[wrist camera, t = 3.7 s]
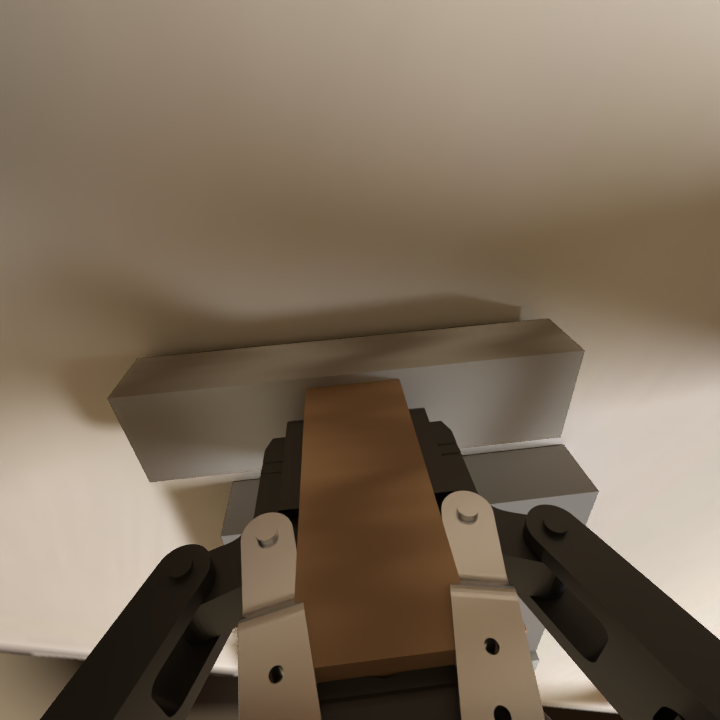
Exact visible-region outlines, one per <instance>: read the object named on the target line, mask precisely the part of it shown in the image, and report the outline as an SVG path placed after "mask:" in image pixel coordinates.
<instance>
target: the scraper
mask: <svg viewBox="0 0 720 720" xmlns="http://www.w3.org/2000/svg"><path fill="white" fill-rule="evenodd" d="M584 351H585V350H584V349H583V348H581V347H580V346H579V345H578V344H577V343H576V342H575V341H573V340H572V339H571V338H570V337H569V336H568V335H567V334H566V333H564V332H563V331H562V330H561V329H560V328H559V327H558V326H557V325H555V324H554V323H553V322H552V321H551V320H550V319H539V320H529V321H519V322H508V323H498V324H488V325H477V326H467V327H457V328H447V329H436V330H426V331H416V332H405V333H395V334H385V335H375V336H364V337H354V338H344V339H333V340H323V341H313V342H303V343H292V344H282V345H272V346H262V347H251V348H241V349H231V350H220V351H210V352H200V353H190V354H179V355H169V356H159V357H148V358H138V359H137V360H136V361H135V363H134V364H133V365H132V367H131V368H130V369H129V370H128V372H127V373H126V374H125V376H124V377H123V378H122V380H121V381H120V382H119V384H118V385H117V386H116V388H115V389H114V390H113V392H112V393H111V394H110V396H109V397H108V398H107V399H108V401H109V403H110V405H111V407H112V409H113V411H114V413H115V415H116V417H117V419H118V420H119V422H120V424H121V426H122V428H123V430H124V432H125V434H126V436H127V438H128V440H129V442H130V444H131V446H132V448H133V450H134V452H135V454H136V456H137V458H138V460H139V462H140V464H141V466H142V468H143V470H144V472H145V474H146V476H147V478H148V480H149V482H157V481H166V480H175V479H184V478H193V477H202V476H211V475H221V474H230V473H239V472H248V471H257V470H262V466H263V458H264V452H265V449H266V448H267V446H268V445H269V443H270V442H271V440H272V439H273V438H282V437H285V436H286V427H287V422H288V421H297V420H304V426H303V445H302V464H301V483H300V501H299V520H298V539H297V558H296V577H295V596H294V603H297V602H300V601H303V602H304V608H305V615H306V621H307V627H308V634H309V640H310V647H311V653H312V659H313V666H314V670H315V674H316V677H317V683H320V682H328V681H335V680H343V679H350V678H358V677H365V676H372V677H377V678H384V679H385V678H390V677H392V676H394V675H396V674H398V673H401V672H403V671H411V670H418V669H426V668H434V667H441V666H449V665H454V661H453V659H454V652H455V645H454V633H453V621H452V609H451V597H450V586H449V582H451V583H461V581H460V578H459V574H458V571H457V568H456V564H455V561H454V558H453V555H452V551H451V548H450V545H449V541H448V538H447V535H446V531H445V528H444V525H443V521H442V518H441V515H440V512H439V508H438V505H437V502H436V498H435V495H434V492H433V488H432V485H431V482H430V478H429V475H428V472H427V469H426V465H425V462H424V459H423V455H422V452H421V449H420V445H419V442H418V439H417V436H416V432H415V429H414V426H413V422H412V419H411V416H410V412H409V409H413V408H423V407H424V408H425V410H426V413H427V416H428V419H429V422H434V421H442V422H443V423H444V424H445V425H446V426H447V427H448V428H450V429H451V430H452V433H453V435H454V437H455V440H456V442H457V445H458V447H459V448H467V447H476V446H485V445H494V444H503V443H512V442H521V441H531V440H540V439H549V438H558V437H561V434H562V430H563V426H564V423H565V419H566V416H567V412H568V408H569V405H570V401H571V398H572V394H573V390H574V387H575V383H576V380H577V376H578V372H579V369H580V365H581V362H582V358H583V354H584Z"/></svg>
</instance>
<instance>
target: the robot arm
mask: <svg viewBox="0 0 720 720" xmlns="http://www.w3.org/2000/svg"><path fill="white" fill-rule="evenodd" d="M409 412H410V416H411V419H412V422H413V426H414V429H415V432H416V436H417V439H418V442H419V445H420V449H421V452H422V455H423V459H424V462H425V465H426V469H427V472H428V475H429V478H430V482H431V485H432V488H433V492H434V495H435V498H436V502H437V505H438V508H439V512H440V515H441V518H442V521H443V525H444V528H445V531H446V535H447V538H448V541H449V545H450V548H451V551H452V555H453V558H454V561H455V564H456V568H457V571H458V574H459V578H460V581H461V583H451V582H449V586H450V597H451V609H452V621H453V633H454V645H455V652H454V659H453V661H454V665H449V666H441V667H434V668H426V669H418V670H411V671H403V672H401V673H398V674H396V675H394V676H392V677H390V678H385V679H384V678H377V677H372V676H365V677H358V678H350V679H343V680H335V681H328V682H320V683H317V677H316V674H315V670H314V666H313V659H312V653H311V647H310V640H309V634H308V627H307V621H306V615H305V608H304V602H303V601H300V602H297V603H294V596H295V577H296V558H297V539H298V520H299V501H300V483H301V464H302V445H303V426H304V420H297V421H288V422H287V427H286V436H285V437H282V438H273V439H272V440H271V442H270V443H269V445H268V446H267V448H266V449H265V452H264V458H263V466H262V470H261V476H260V482H259V488H258V494H257V500H256V506H255V512H254V517H253V520H252V521H251V522H250V523H249V524H248V525H247V526H246V528H245V529H244V531H243V533H242V535H241V536H240V537H238V538H237V539H235V540H234V541H232V542H230V543H228V544H225V545H223V546H221V547H218V548H216V549H214V550H211V551H209V552H208V551H207V550H206V549H205V548H204V547H203V546H200V545H196V544H189V545H184V546H181V547H179V548H177V549H175V550H173V551H172V552H170V553H169V554H167V555H166V556H165V557H164V558H163V559H162V560H161V562H160V563H159V564H158V565H157V567H156V568H155V569H154V571H153V572H152V573H151V575H150V576H149V577H148V579H147V580H146V581H145V582H144V584H143V585H142V586H141V588H140V589H139V590H138V592H137V593H136V594H135V596H134V597H133V598H132V600H131V601H130V602H129V603H128V605H127V606H126V607H125V609H124V610H123V611H122V613H121V614H120V615H119V617H118V618H117V619H116V620H115V622H114V623H113V624H112V626H111V627H110V628H109V630H108V631H107V632H106V634H105V635H104V636H103V638H102V639H101V640H100V641H99V643H98V644H97V645H96V647H95V648H94V649H93V651H92V652H91V653H90V655H89V656H88V657H87V659H86V660H85V661H84V662H83V664H82V665H81V666H80V668H79V669H78V670H77V672H76V673H75V674H74V676H73V677H72V678H71V680H70V681H69V682H68V683H67V685H66V686H65V687H64V689H63V690H62V691H61V693H60V694H59V695H58V697H57V698H56V699H55V701H54V702H53V703H52V705H51V706H50V707H49V708H48V710H47V711H46V712H45V714H44V715H43V716H42V718H41V719H40V720H185V719H186V717H187V715H188V713H189V711H190V709H191V708H192V706H193V704H194V702H195V700H196V698H197V696H198V694H199V692H200V690H201V689H202V686H203V685H204V683H205V681H206V679H207V677H208V675H209V673H210V672H211V670H212V668H213V666H214V664H215V662H216V660H217V658H218V656H219V654H220V653H221V651H222V649H223V647H224V645H225V643H226V641H227V639H228V637H229V636H230V634H231V632H232V630H233V628H235V627H237V626H238V683H239V684H238V686H239V720H551V719H550V718H549V717H548V716H547V715H546V714H545V713H544V712H543V709H542V704H541V699H540V695H539V690H538V686H537V681H536V677H535V672H534V668H533V663H532V659H531V654H530V650H529V645H528V641H527V636H526V632H525V627H524V623H523V618H522V614H521V609H520V605H519V600H518V596H519V598H520V599H521V600H522V601H523V602H524V603H525V605H526V606H527V607H528V608H529V609H530V610H531V612H532V613H533V614H534V615H535V616H536V617H537V619H538V620H539V621H540V622H541V623H542V625H543V626H544V627H545V628H546V629H547V630H548V632H549V633H550V634H551V635H552V636H553V637H554V639H555V640H556V641H557V642H558V643H559V644H560V646H561V647H562V648H563V649H564V650H565V651H566V653H567V654H568V655H569V656H570V657H571V658H572V660H573V661H574V662H575V663H576V664H577V666H578V667H579V668H580V669H581V670H582V671H583V673H584V674H585V675H586V676H587V677H588V678H589V680H590V681H591V682H592V683H593V684H594V685H595V687H596V688H597V689H598V690H599V691H600V692H601V694H602V695H603V696H604V697H605V698H606V699H607V701H608V702H609V703H610V704H611V705H612V706H613V708H614V709H615V710H616V711H617V712H618V714H619V715H620V716H621V717H622V718H623V719H624V720H720V640H719V639H718V638H717V637H716V636H715V635H713V634H712V633H711V632H710V631H709V630H707V629H706V628H705V627H704V626H703V625H702V624H700V623H699V622H698V621H697V620H696V619H695V618H693V617H692V616H691V615H690V614H689V613H687V612H686V611H685V610H684V609H683V608H682V607H680V606H679V605H678V604H677V603H676V602H675V601H673V600H672V599H671V598H670V597H669V596H667V595H666V594H665V593H664V592H663V591H662V590H660V589H659V588H658V587H657V586H656V585H655V584H653V583H652V582H651V581H650V580H649V579H647V578H646V577H645V576H644V575H643V574H642V573H640V572H639V571H638V570H637V569H636V568H635V567H633V566H632V565H631V564H630V563H629V562H627V561H626V560H625V559H624V558H623V557H622V556H620V555H619V554H618V553H617V552H616V551H615V550H613V549H612V548H611V547H610V546H609V545H607V544H606V543H605V542H604V541H603V540H602V539H600V538H599V537H598V536H597V535H596V534H595V533H593V532H592V531H591V530H590V529H589V528H587V527H586V526H585V525H584V524H583V523H582V522H580V521H579V520H578V519H577V518H576V517H575V516H573V515H572V514H571V513H569V512H568V511H566V510H565V509H562V508H560V507H557V506H554V505H548V504H543V505H538V506H535V507H533V508H532V509H530V511H529V512H528V514H527V515H526V514H520V513H514V512H508V511H504V510H500V509H498V508H495V507H493V506H491V505H490V504H489V503H488V502H487V501H486V500H485V499H484V498H483V497H482V496H480V495H479V494H478V492H477V490H476V488H475V485H474V483H473V480H472V478H471V476H470V473H469V471H468V468H467V466H466V464H465V461H464V459H463V457H462V454H461V452H460V449H459V447H458V445H457V442H456V440H455V437H454V435H453V433H452V430H451V429H450V428H448V427H447V426H446V425H445V424H444V423H443V422H442V421H434V422H429V419H428V416H427V413H426V410H425V408H424V407H423V408H413V409H409ZM517 595H518V596H517Z"/></svg>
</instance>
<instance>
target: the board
mask: <svg viewBox="0 0 720 720" xmlns="http://www.w3.org/2000/svg"><path fill="white" fill-rule="evenodd" d="M462 457H463V459H464V461H465V464H466V466H467V468H468V471H469V473H470V476H471V478H472V480H473V483H474V485H475V488H476V490H477V492H478V494H479V495H480V496H482V497H483V498H484V499H485V500H486V501H487V502H488V503H489V504H490V505H491V506H493V507H495V508H498V509H500V510H504V511H508V512H514V513H520V514H526V515H527V514H528V512H529V511H530V509H532V508H533V507H535V506H538V505H543V504H548V505H554V506H557V507H560V508H562V509H565V510H566V511H568V512H569V513H571V514H572V515H573V516H575V517H576V518H577V519H578V520H579V521H580V522H582V523H583V524H584V525H586V522H587V520H588V517H589V515H590V512H591V510H592V507H593V505H594V502H595V500H596V497H597V495H598V492H599V491H598V489H597V488H596V487H595V486H594V484H593V483H592V482H591V480H590V479H589V478H588V476H587V475H586V474H585V472H584V471H583V470H582V468H581V467H580V466H579V464H578V463H577V462H576V460H575V459H574V458H573V456H572V455H571V454H570V452H569V451H568V450H567V448H566V447H565V446H564V445H557V446H548V447H539V448H530V449H521V450H512V451H503V452H495V453H486V454H477V455H468V456H462ZM259 482H260V479H255V480H246V481H237V482H233V484H232V488H231V493H230V497H229V501H228V506H227V510H226V515H225V519H224V524H223V528H222V532H221V539H222V541H223V544H224V545H225V544H228V543H230V542H232V541H234V540H235V539H237V538H238V537H240V536H241V535H242V533H243V531H244V529H245V528H246V526H247V525H248V524H249V523H250V522H251V521H252V520H253V517H254V512H255V506H256V500H257V494H258V488H259ZM517 596H518V595H517ZM518 600H519V605H520V609H521V614H522V618H523V622H524V624H525V627H526V629H527V632H526V636H527V641H528V645H529V650H530V652H534V651H536V649H537V646H538V644H539V641H540V639H541V636H542V634H543V631H544V629H545V627H544V626H543V625H542V623H541V622H540V621H539V620H538V619H537V617H536V616H535V615H534V614H533V613H532V612H531V610H530V609H529V608H528V607H527V606H526V605H525V603H524V602H523V601H522V600H521V599H520V598H519V596H518Z"/></svg>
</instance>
